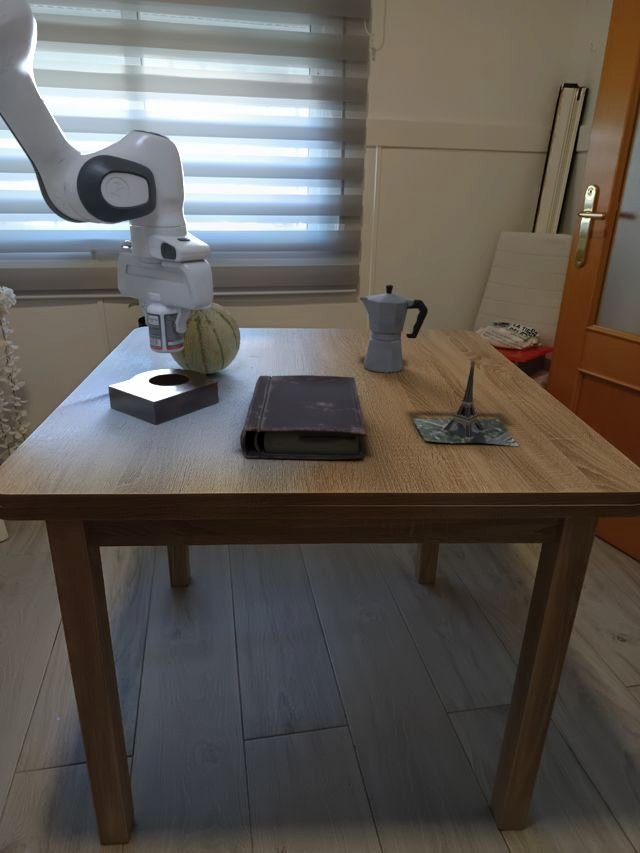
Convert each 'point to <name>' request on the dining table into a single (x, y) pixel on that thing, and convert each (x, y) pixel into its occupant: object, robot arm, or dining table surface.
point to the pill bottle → (163, 327)
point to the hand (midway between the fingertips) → (166, 328)
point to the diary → (304, 418)
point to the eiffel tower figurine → (465, 424)
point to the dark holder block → (163, 394)
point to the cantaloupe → (209, 340)
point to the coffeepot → (389, 329)
